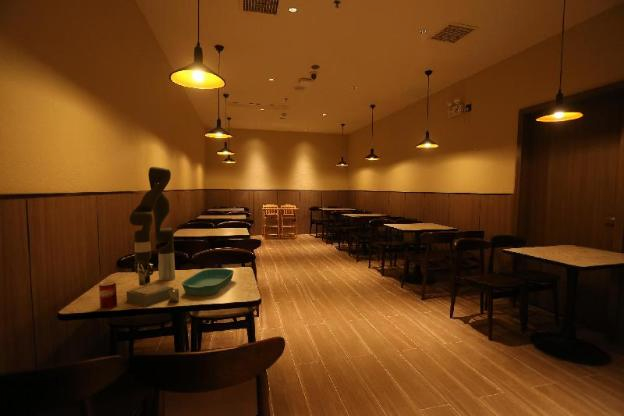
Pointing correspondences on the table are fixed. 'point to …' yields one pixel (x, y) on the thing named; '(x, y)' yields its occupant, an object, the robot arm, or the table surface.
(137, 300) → the block
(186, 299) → the table surface
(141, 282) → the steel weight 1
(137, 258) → the robot arm
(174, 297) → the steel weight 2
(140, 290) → the scale pan
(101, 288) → the soda can
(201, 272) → the casserole dish
